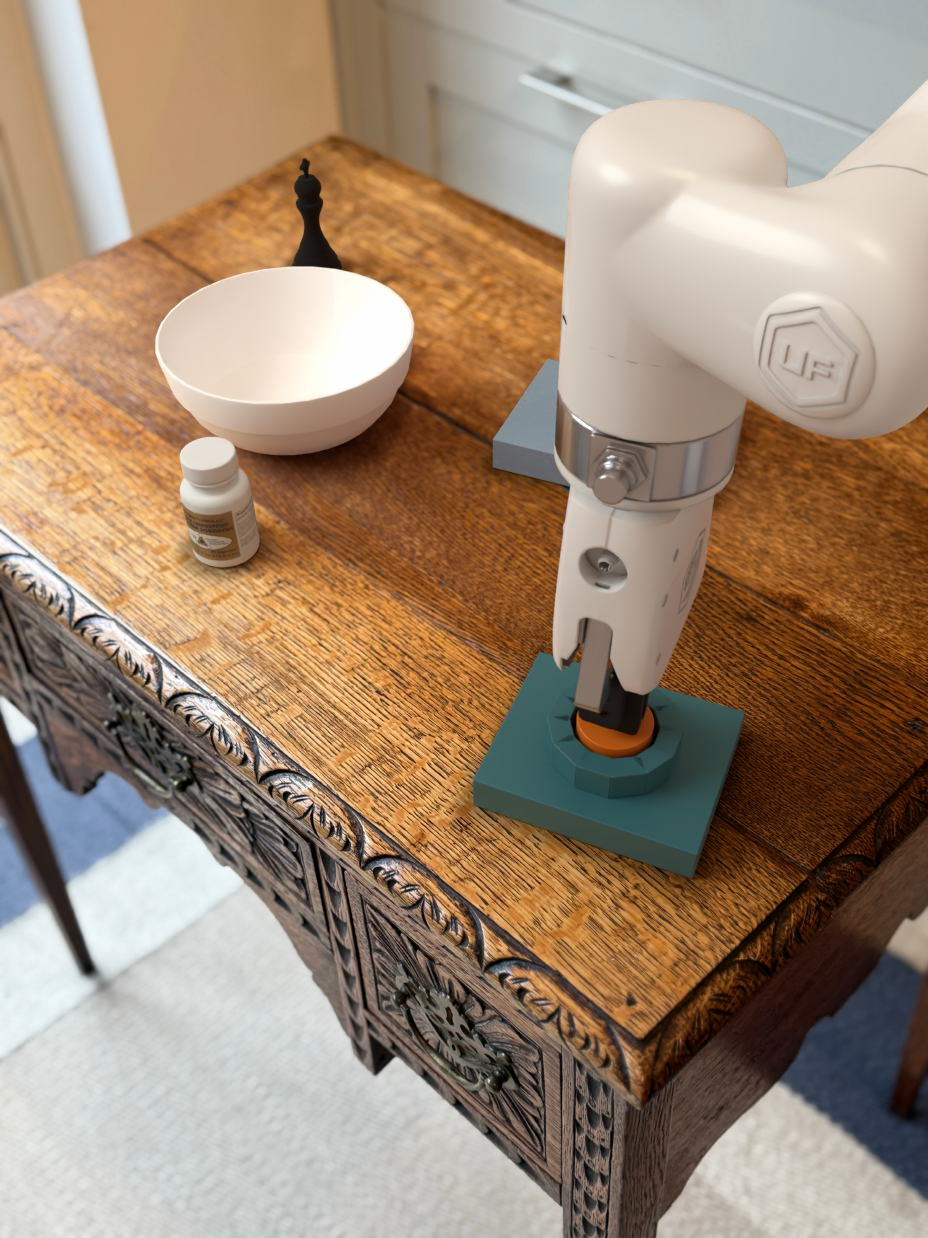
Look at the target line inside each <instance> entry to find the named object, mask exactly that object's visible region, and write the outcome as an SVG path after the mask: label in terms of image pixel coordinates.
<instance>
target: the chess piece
mask: <svg viewBox="0 0 928 1238" xmlns="http://www.w3.org/2000/svg"><path fill="white" fill-rule="evenodd" d="M310 165H311V161H310V160H309V159H307V158H306V157H303V158H302V159H301V163H300V165H299V168H298V169H299V171H301V172H303V174H300V175H298V177H297V179H296V180H295V182H294V184H293V191H294V193H295V194H296V196H297V199H295V206H296V209H297V210H298V212H299V214H300V215H301V217H302V220H303V233H302V237H301V240H300V242H299V246H298V249H297V251H296V253H295V255H294V257H293V262H292V264H291V267H321V268H331V269H338V270H343V269H342V268H343V264H342V261H341V260H340V259H339V257H338V254H337V253H336V251H335V250H334V249H333V247H332V246H331V244H330V242H329V241H328V239H327V237H326V236H325V235H324V232H323V230H322V228H321V223H320V218H321V217H320V216H321V212H322V210H323V207H324V199H323V198H322V197H321V192H322V183H321V181H320V180H319V178H318V177H316V176H315V175H314V174H312V173H309V171H310V170H309V169H310Z"/></svg>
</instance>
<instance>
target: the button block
mask: <svg viewBox="0 0 928 1238" xmlns="http://www.w3.org/2000/svg"><path fill="white" fill-rule="evenodd" d="M580 664H581V662H577V661H573V662H572V664H571V666H570V668H565V670H563V671H561V670H560V669H559V667H558V666H557V664H556V662H555V660H554V657H553V654H549V653H545V652H542V651H539V652H538V653H537V656H536V658H535V659H534V661H533V664H532V665H531V667H530V669H529V671H528V673H527V675H526V677H525V679H524V681H523V683H522V684H521V686H520V689H519V690H518V691H517V694H516V695H515V698H514V700H513V701H512V704H511V706H510V708H509V710H508V711H507V714H506V716H505V717H504V719H503V721H502V723H501V725H500V727H499V729H498V731H497V733H496V734H495V736H494V737H493V740H492V742H491V744H490V746H489V748H488V750H487V752H486V754H485V755H484V757H483V759H482V761H481V763H480V765H479V767H478V769H477V771H476V773H475V774H474V777H473V778H472V805H473V806H475V807H478V808H481V809H484V810H487V811H490V812H493V813H496V814H499V815H502V816H505V817H508V818H510V819H513V820H516V821H519V822H523V823H525V824H529V825H531V826H533V827H538V828H540V829H543V830H546V831H548V832H552V833H555V834H558V835H560V836H564V837H567V838H570V839H572V840H576V841H579V842H582V843H585V844H587V845H590V846H594V847H596V848H599V849H602V850H604V851H608V852H610V853H614V854H617V855H619V856H622V857H625V858H628V859H632V860H635V861H637V862H640V863H644V864H647V865H649V866H653V867H655V868H659V869H661V870H664V871H667V872H670V873H673V874H676V875H679V876H681V877H685V878H688V879H692V880H693V878H694V875H695V873H696V870H697V867H698V865H699V861H700V858H701V855H702V851H703V848H704V845H705V844H706V840H707V837H708V834H709V831H710V828H711V825H712V822H713V819H714V816H715V813H716V811H717V807H718V804H719V800H720V798H721V796H722V792H723V789H724V786H725V783H726V780H727V776H728V774H729V771H730V769H731V765H732V762H733V759H734V756H735V753H736V751H737V750H736V749H737V747H738V744H739V741H740V737H741V733H742V729H743V726H744V721H745V718H746V712H745V711H743V710H739V709H736V708H734V707H729V706H727V705H726V706H725V705H723V704H719V703H716V702H711V701H709V700H705V699H702V698H699V697H696V696H693V695H692V696H691V695H688V694H685V693H682V692H678V691H675V690H671V689H669V688H665V687H662V686H658V685H657V687H656V688H654V689H653V690H652V691H651V692H649V698H648V704H647V706H648V707H649V709H650V711H651V712H652V715H653V718H654V729H653V735H652V741H651V747H649V748H648V749H646V750H645V751H643V752H642V753H640V754H639V755H637V756H635V757H625V758H616V759H612V758H609V757H606V756H603V755H600V754H596V753H593V752H590V751H589V750H588V749H587V748H586V747H585V746H584V745H583V744H581V743H580V742H579V741H578V740H577V739H576V738H575V733H576V721H577V713H578V710H579V707H576V706H574V700H575V694H576V688H577V682H578V676H579V670H580Z"/></svg>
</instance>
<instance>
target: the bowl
mask: <svg viewBox="0 0 928 1238" xmlns="http://www.w3.org/2000/svg"><path fill="white" fill-rule="evenodd" d="M415 329H416V325H415V321H414V317H413V313H412V310H411V309H410V307H409V306H408V305H407V303H406V302H405V300H404V299H403V297H401V295H399V294H398V293H396V292H395V291H394V290H393V289H392V288H391V287H390V286H389V287H388V286H387V285H385V284H384V283H381V282H379V281H377V280H375V279H373V278H370V277H367V276H364V275H362V274H359V273H356V272H352V271H346V270H343V269H342V270H338V269H331V268H321V267H292V266H282V267H281V266H280V267H271V268H264V269H258V270H253V271H248V272H242V273H239V274H235V275H233V276H229V277H227V278H223V279H220V280H218V281H216V282H213V283H211V284H209V285H206V286H204V287H202V288H200V289H198V290H197V291H195V292H193V293H192V294H190V295H188V296H186V297H185V298H183V299H182V300H181V301H180V302H179V303H178V304H177V305H175V306H174V307H173V308H172V309H171V310H169V312H168V313H167V314H166V316H165V317H164V319H163V320H162V321H161V322H160V324H159V326H158V329H157V331H156V334H155V348H154V349H155V350H154V351H155V356H156V359H157V360H158V364H159V366H160V369H161V371H162V373H163V375H164V378H165V379H166V381H167V384H168V385H169V388H170V390H171V393H172V394H173V396H174V398H175V399H176V400H177V401H178V402H179V404H180V405H181V406H182V408H184V409H185V410H186V411H187V412H189V413H190V414H191V415H192V416H193V417H194V419H195V420H196V421H197V423H198V424H199V425H200V426H201V427H203V428H204V429H206V430H207V431H208V432H210V433H211V434H213V435H215V437H220V438H224V439H226V440H228V441H230V442H231V443H232V444H233V445H234V447H237V448H239V449H242V450H244V451H249V452H252V453H257V454H264V455H273V456H296V455H304V454H313V453H317V452H320V451H321V452H322V451H324V450H329V449H332V448H336V447H337V446H340V445H344V443H347V442H349V441H351V440H353V439H355V438H356V437H358V436H360V435H361V434H363V433H364V432H365V431H367V430H368V429H369V428H370V427H372V425H374V423H375V422H376V421H378V419H379V418H380V417H381V416H383V414H384V413H385V412H386V410H387V409H388V408H389V407H390V405H391V404H392V403H393V401H394V398H395V396H396V394H397V393H398V389H400V387H402V385H403V383H404V381H405V380H406V378H407V377H406V376H407V375H408V372H409V370H410V363H411V357H412V350H413V345H414V340H415Z"/></svg>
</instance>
